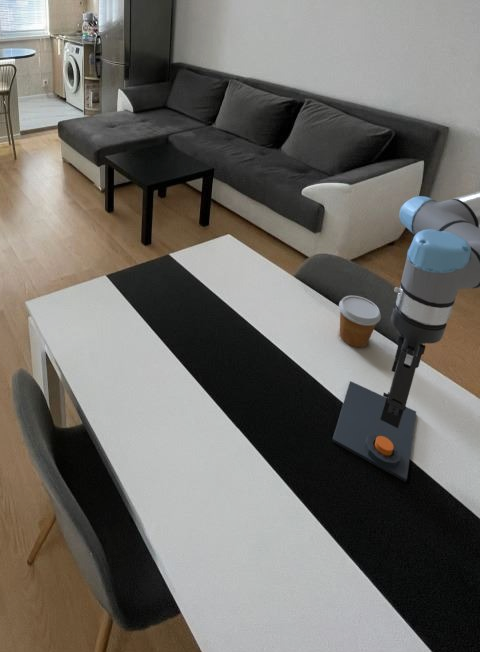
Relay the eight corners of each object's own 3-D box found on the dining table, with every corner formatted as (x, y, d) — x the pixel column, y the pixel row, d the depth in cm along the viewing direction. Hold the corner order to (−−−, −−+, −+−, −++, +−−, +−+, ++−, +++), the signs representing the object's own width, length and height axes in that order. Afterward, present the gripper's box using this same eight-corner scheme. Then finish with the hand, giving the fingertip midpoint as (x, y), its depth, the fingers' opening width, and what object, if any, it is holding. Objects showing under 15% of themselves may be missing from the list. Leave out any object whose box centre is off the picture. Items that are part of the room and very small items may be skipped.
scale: (348, 386, 105) (351, 376, 104) (414, 417, 97) (417, 406, 96) (331, 444, 93) (333, 433, 91) (404, 485, 85) (408, 474, 83)
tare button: (375, 438, 90) (377, 432, 90) (393, 447, 88) (394, 441, 88) (373, 449, 88) (374, 444, 88) (390, 459, 86) (392, 453, 86)
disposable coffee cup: (327, 341, 118) (334, 306, 114) (340, 322, 124) (347, 289, 119) (366, 361, 111) (375, 325, 107) (378, 340, 117) (387, 306, 113)
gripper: (403, 268, 87) (382, 346, 95) (383, 345, 70) (359, 433, 78) (451, 283, 82) (425, 364, 90) (442, 369, 65) (410, 460, 73)
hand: (394, 396), depth 84 cm, fingers open, 13 cm apart
